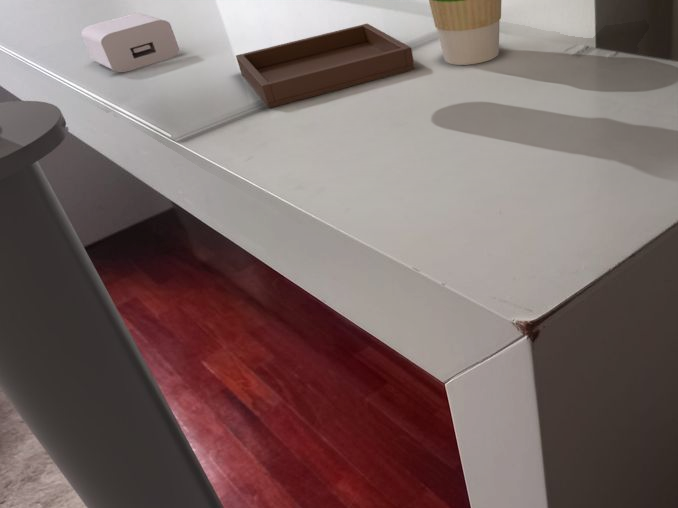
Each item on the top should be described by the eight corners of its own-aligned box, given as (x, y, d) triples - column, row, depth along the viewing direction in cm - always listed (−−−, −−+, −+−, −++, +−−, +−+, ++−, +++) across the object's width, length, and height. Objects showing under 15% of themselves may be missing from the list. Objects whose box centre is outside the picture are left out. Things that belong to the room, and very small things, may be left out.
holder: (269, 108, 72) (262, 86, 70) (241, 75, 82) (235, 55, 81) (414, 69, 76) (411, 47, 75) (371, 42, 87) (367, 23, 85)
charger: (143, 40, 103) (181, 54, 94) (81, 58, 99) (114, 75, 89) (130, 6, 100) (168, 17, 91) (65, 23, 96) (98, 36, 86)
